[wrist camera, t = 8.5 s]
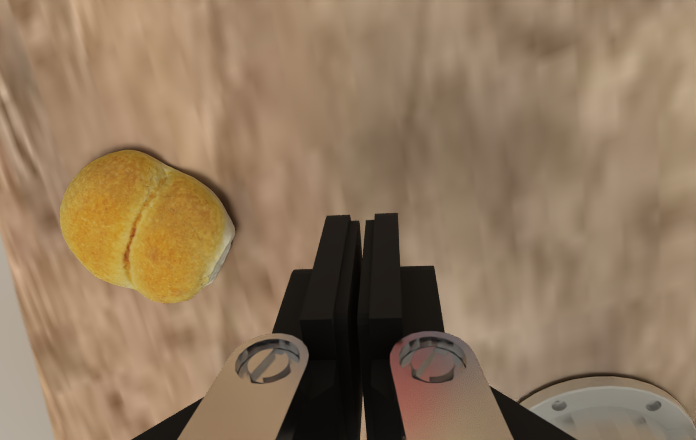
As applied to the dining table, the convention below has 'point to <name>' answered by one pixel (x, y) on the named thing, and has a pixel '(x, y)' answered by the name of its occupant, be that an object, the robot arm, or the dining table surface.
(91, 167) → the bread roll
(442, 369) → the robot arm
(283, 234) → the dining table surface
